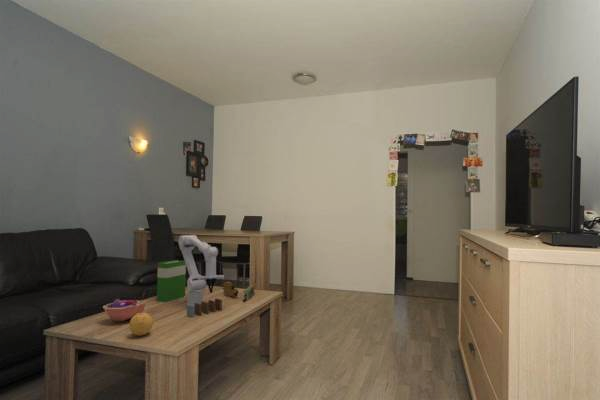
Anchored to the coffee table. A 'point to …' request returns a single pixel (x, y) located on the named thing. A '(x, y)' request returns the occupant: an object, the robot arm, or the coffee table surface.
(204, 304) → the domino
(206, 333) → the coffee table surface
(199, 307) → the domino
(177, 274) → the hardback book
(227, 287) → the wooden carving
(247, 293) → the handheld radio
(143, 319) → the stress ball
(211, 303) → the domino
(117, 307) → the cell model
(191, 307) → the domino
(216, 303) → the domino
